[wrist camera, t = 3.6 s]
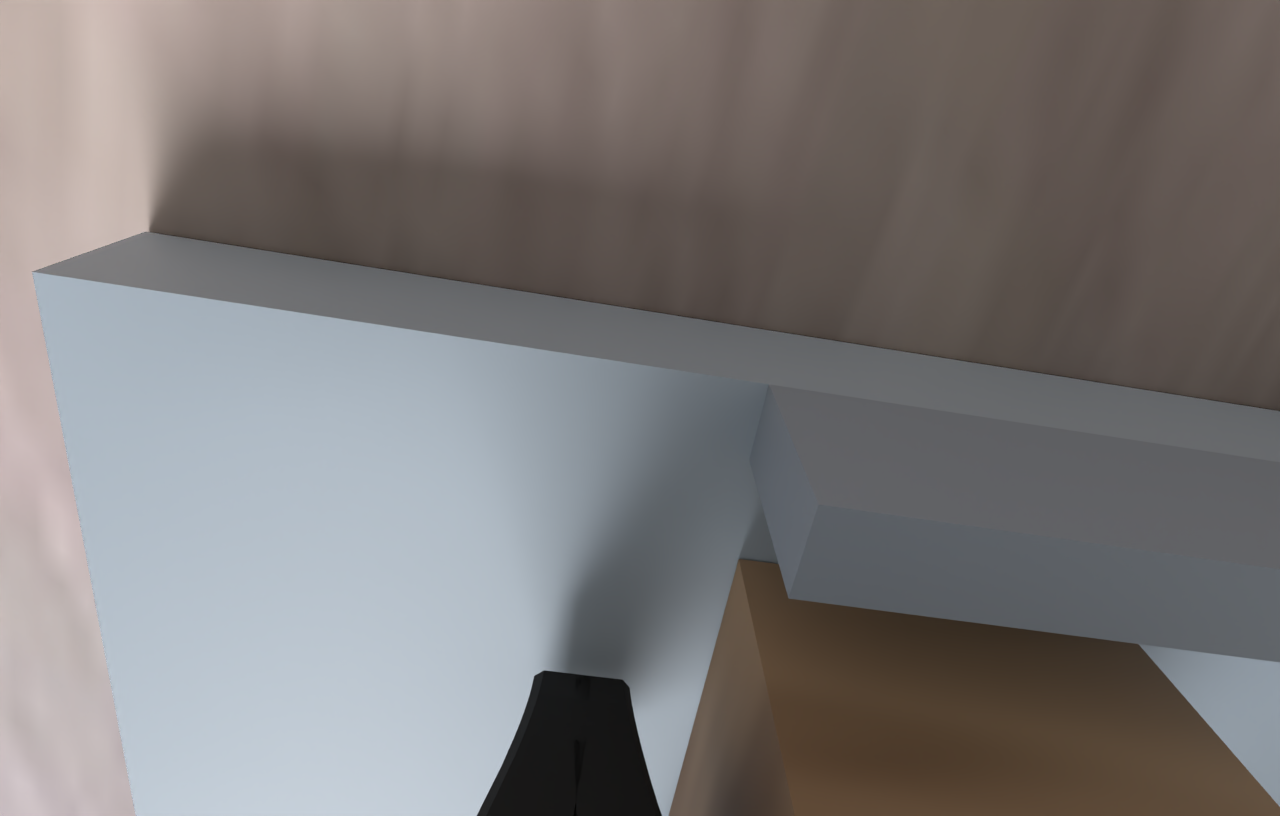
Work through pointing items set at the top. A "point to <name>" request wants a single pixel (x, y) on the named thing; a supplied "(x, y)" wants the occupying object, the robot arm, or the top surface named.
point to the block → (940, 720)
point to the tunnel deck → (583, 516)
